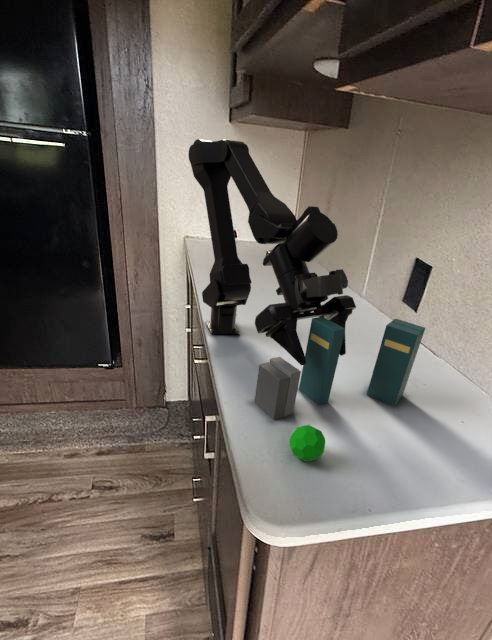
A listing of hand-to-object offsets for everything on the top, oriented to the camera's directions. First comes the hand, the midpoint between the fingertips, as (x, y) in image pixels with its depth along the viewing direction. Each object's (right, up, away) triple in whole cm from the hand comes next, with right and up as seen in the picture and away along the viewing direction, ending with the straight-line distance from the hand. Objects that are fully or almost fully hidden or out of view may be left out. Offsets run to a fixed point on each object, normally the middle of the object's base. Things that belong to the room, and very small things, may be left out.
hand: (324, 359), depth 67 cm
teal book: (-1, -6, +4) cm, 8 cm away
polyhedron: (-4, -14, -11) cm, 18 cm away
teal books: (+12, -6, +8) cm, 16 cm away
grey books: (-9, -8, -1) cm, 12 cm away
